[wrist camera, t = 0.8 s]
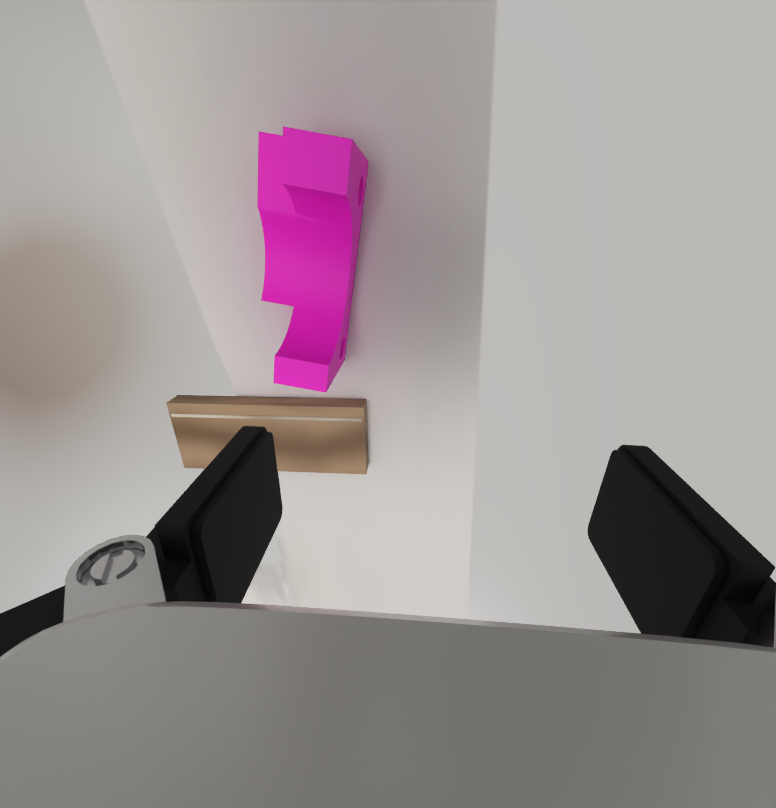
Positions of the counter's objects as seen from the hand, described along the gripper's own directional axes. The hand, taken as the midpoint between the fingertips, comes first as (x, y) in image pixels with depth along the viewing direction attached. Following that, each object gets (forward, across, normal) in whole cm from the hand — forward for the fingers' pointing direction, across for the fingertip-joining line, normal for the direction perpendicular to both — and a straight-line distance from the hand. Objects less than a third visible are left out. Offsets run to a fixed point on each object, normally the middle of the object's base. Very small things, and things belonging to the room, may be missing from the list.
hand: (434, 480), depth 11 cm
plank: (+22, +14, +12) cm, 29 cm away
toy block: (+23, +9, -4) cm, 25 cm away
